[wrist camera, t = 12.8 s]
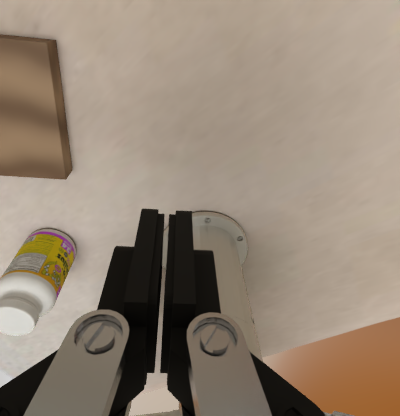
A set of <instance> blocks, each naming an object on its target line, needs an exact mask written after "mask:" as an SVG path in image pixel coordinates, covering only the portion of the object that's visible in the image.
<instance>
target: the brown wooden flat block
mask: <svg viewBox="0 0 400 416" xmlns="http://www.w3.org/2000/svg"><path fill="white" fill-rule="evenodd" d="M71 171H72V163H71V155H70V147H69V139H68V132H67V124H66V116H65V108H64V100H63V92H62V84H61V77H60V69H59V61H58V53H57V45H56V40H49V39H39V38H29V37H19V36H9V35H0V175H2V176H18V177H34V178H50V179H67V177H68V176H69V174H70V173H71Z"/></svg>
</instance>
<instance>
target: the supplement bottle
mask: <svg viewBox="0 0 400 416" xmlns="http://www.w3.org/2000/svg"><path fill="white" fill-rule="evenodd" d="M75 255H76V248H75V245H74V243H73V241H72V240H71V239H70V238H69V237H68V236H67V235H66V234H64V233H62V232H60V231H57V230H53V229H42V230H38V231H35V232H34V233H32V234H31V235H30V236H29V237H28V238H27V240H26V241H25V242H24V244H23V245H22V247H21V248H20V250H19V251H18V253H17V254H16V256H15V257H14V259H13V260H12V262H11V263H10V265H9V266H8V268H7V269H6V271H5V272H4V274H3V275H2V277H1V278H0V332H1V333H3V334H7V335H12V336H20V335H25V334H28V333H30V332H31V331H32V330H33V329H34V327H35V325H36V323H37V321H38V319H39V317H41V316H43V315H45V314H47V313H48V312H49V311H50V310H51V309H52V308H53V306H54V304H55V302H56V300H57V297H58V295H59V293H60V290H61V288H62V286H63V283H64V281H65V279H66V276H67V274H68V272H69V270H70V268H71V265H72V263H73V260H74V258H75Z"/></svg>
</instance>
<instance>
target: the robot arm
mask: <svg viewBox="0 0 400 416" xmlns="http://www.w3.org/2000/svg"><path fill="white" fill-rule="evenodd" d="M247 252H248V244H247V239H246V236H245V233H244V232H243V230H242V228H241V227H240V226H239V225H238V224H237V223H236V222H235V221H234V220H232V219H231V218H229V217H227V216H225V215H222V214H219V213H215V212H195V213H192V211H176V215H171V214H170V215H169V226H168V227H167V228H166V229H165V231H164V214H158V210H157V209H142V211H141V216H140V221H139V226H138V231H137V236H136V241H135V246H134V247H125V246H116V247H115V249H114V252H113V255H112V259H111V262H110V266H109V269H108V273H107V277H106V280H105V284H104V287H103V291H102V294H101V298H100V302H99V305H98V309H97V310H96V311H91V312H89V313H87V314H85V315H83V316H81V317H80V318H79V319H78V320H76V321H75V322H74V324H73V325H72V326H71V328H70V329H69V331H68V333H67V335H66V337H65V339H64V340H63V342H62V344H61V346H60V348H59V350H57V351H55V352H54V353H52V354H51V355H49V356H48V357H46V358H45V359H43V360H42V361H40V362H39V363H37V364H36V365H34V366H33V367H31V368H30V369H28V370H26V371H25V372H23V373H22V374H20V375H19V376H17V377H16V378H14V379H13V380H11V381H10V382H8V383H7V384H5V385H4V386H2V387H1V388H0V416H128V415H129V411H130V408H131V400H133V398H135V397H136V396H137V395H138V394H139V393H140V392H141V391H143V390H144V385H146V379H147V373H154V370H155V357H156V344H157V331H158V318H159V305H160V292H161V279H162V265H163V267H164V268H165V269H166V279H165V295H164V312H163V331H162V350H161V369H160V373H167V374H168V375H167V385H168V390H169V391H170V392H171V393H172V394H173V396H174V397H175V398H176V399H178V401H179V410H173V411H171V412H162V413H153V414H146V415H136V416H353V415H349V414H345V413H341V412H337V411H334V412H333V414H329V413H325V412H322V411H321V410H320V408H318V407H317V406H316V405H315V404H314V403H313V402H312V401H311V400H309V399H308V398H307V397H306V396H304V395H303V394H302V393H301V392H299V391H298V390H297V389H296V388H294V387H293V386H292V385H291V384H289V383H288V382H287V381H286V380H284V379H283V378H282V377H281V376H279V375H278V374H277V373H276V372H274V371H273V370H272V369H270V368H269V367H268V366H267V365H266V364H265V363H263V360H262V356H261V352H260V347H259V343H258V339H257V335H256V330H255V325H254V321H253V317H252V312H251V308H250V303H249V299H248V294H247V290H246V286H245V281H244V277H243V272H242V268H241V266H242V265H243V263H244V261H245V259H246V256H247Z"/></svg>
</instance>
